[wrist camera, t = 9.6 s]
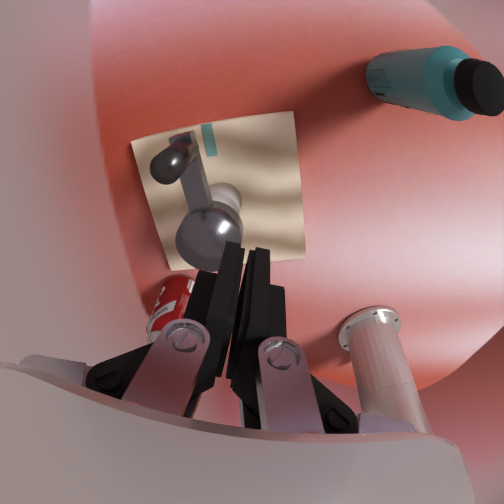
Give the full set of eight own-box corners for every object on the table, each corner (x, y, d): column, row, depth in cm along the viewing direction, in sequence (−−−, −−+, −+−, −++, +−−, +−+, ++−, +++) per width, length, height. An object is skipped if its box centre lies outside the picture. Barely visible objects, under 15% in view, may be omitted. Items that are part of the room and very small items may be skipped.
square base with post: (304, 252, 42) (311, 290, 35) (173, 265, 44) (158, 302, 37) (292, 110, 31) (300, 119, 24) (135, 139, 33) (104, 156, 26)
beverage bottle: (355, 94, 29) (448, 117, 12) (363, 46, 26) (462, 24, 9) (401, 109, 29) (510, 152, 13) (410, 63, 26) (525, 71, 9)
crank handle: (248, 249, 31) (244, 295, 25) (193, 257, 32) (177, 302, 26) (219, 123, 24) (202, 138, 18) (155, 139, 25) (121, 161, 19)
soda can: (198, 270, 44) (181, 328, 34) (208, 302, 48) (196, 359, 38) (159, 273, 45) (135, 328, 35) (172, 304, 49) (153, 359, 39)
